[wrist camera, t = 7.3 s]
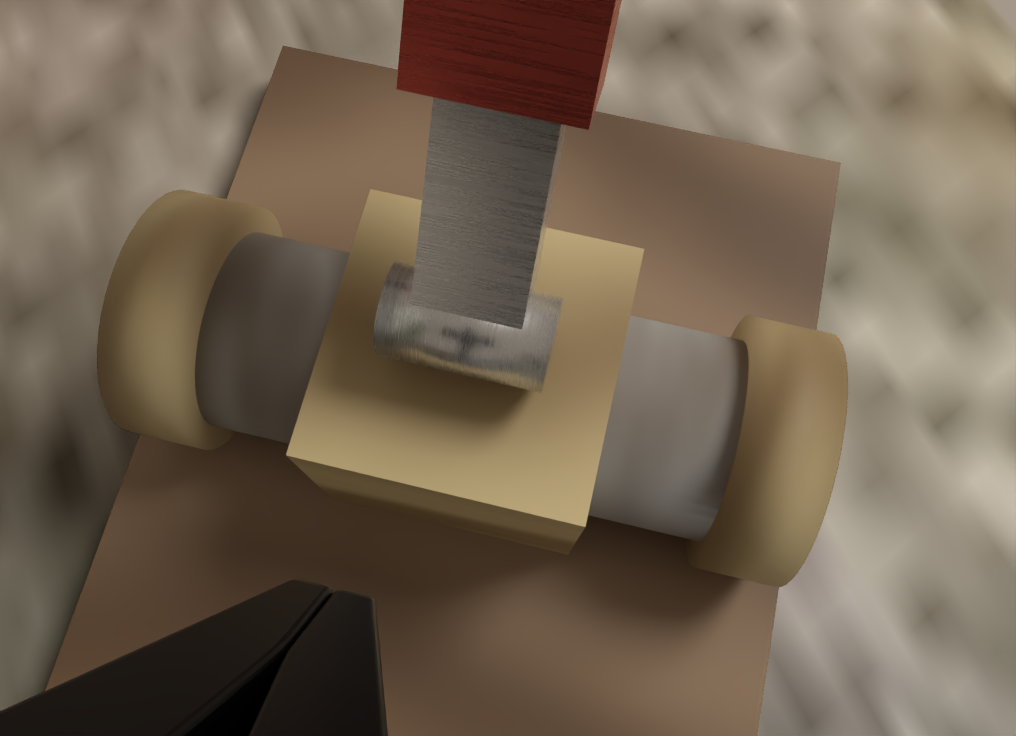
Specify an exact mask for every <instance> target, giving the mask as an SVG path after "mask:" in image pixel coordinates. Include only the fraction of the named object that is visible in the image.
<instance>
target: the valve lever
mask: <svg viewBox="0 0 1016 736" xmlns="http://www.w3.org/2000/svg"><path fill="white" fill-rule="evenodd" d="M620 5H621V0H404V8H403V19H402V31H401V42H400V54H399V65H398V76H397V88H396V89H397V90H402V91H406V92H411V93H416V94H420V95H425V96H430V97H433V106H432V115H431V124H430V133H429V142H428V151H427V160H426V169H425V178H424V187H423V196H422V205H421V214H420V223H419V232H418V241H417V250H416V259H415V265H414V264H410V263H405V262H401V261H396V262H394V263H393V265H392V266H391V268H390V270H389V272H388V274H387V277H386V279H385V282H384V285H383V288H382V291H381V295H380V299H379V303H378V307H377V312H376V318H375V324H374V334H373V347H374V352H375V354H376V355H379V356H383V357H388V358H392V359H396V360H401V361H405V362H409V363H414V364H418V365H422V366H427V367H431V368H435V369H440V370H444V371H448V372H453V373H457V374H461V375H466V376H470V377H474V378H479V379H483V380H487V381H492V382H496V383H500V384H505V385H509V386H513V387H518V388H522V389H526V390H531V391H535V392H539V393H542V391H543V387H544V384H545V380H546V376H547V372H548V367H549V363H550V359H551V355H552V350H553V346H554V342H555V337H556V333H557V328H558V324H559V319H560V314H561V309H562V304H563V298H562V297H557V296H553V295H549V294H544V293H540V292H535V286H536V280H537V275H538V270H539V265H540V260H541V255H542V250H543V244H544V239H545V234H546V229H547V224H548V219H549V214H550V208H551V203H552V198H553V193H554V188H555V183H556V177H557V172H558V167H559V162H560V157H561V152H562V147H563V141H564V136H565V131H566V126H572V127H576V128H581V129H586V130H589V128H590V125H591V122H592V119H593V116H594V113H595V110H596V107H597V103H598V100H599V97H600V94H601V91H602V88H603V85H604V81H605V76H606V71H607V67H608V62H609V57H610V52H611V48H612V43H613V38H614V34H615V29H616V24H617V19H618V15H619V10H620Z"/></svg>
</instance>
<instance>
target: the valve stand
mask: <svg viewBox="0 0 1016 736" xmlns="http://www.w3.org/2000/svg"><path fill="white" fill-rule="evenodd" d="M397 76H398V70H396V69H391V68H387V67H382V66H377V65H372V64H367V63H363V62H358V61H353V60H348V59H344V58H339V57H334V56H329V55H325V54H320V53H315V52H310V51H306V50H301V49H296V48H291V47H287V46H283V47H282V50H281V53H280V55H279V58H278V61H277V63H276V66H275V69H274V72H273V74H272V77H271V80H270V82H269V85H268V88H267V91H266V93H265V96H264V99H263V101H262V104H261V107H260V110H259V112H258V115H257V118H256V120H255V123H254V126H253V129H252V131H251V134H250V137H249V139H248V142H247V145H246V147H245V150H244V153H243V156H242V158H241V161H240V164H239V166H238V169H237V172H236V175H235V177H234V180H233V183H232V185H231V188H230V191H229V194H228V196H227V199H223V198H218V197H214V196H209V195H205V194H200V193H196V192H191V191H186V190H177V191H172V192H170V193H167V194H165V195H163V196H162V197H161V198H159V199H158V200H156V201H155V202H154V203H153V204H152V205H151V206H150V207H149V208H148V209H147V210H146V211H145V213H144V214H143V215H142V216H141V217H140V219H139V220H138V222H137V223H136V225H135V226H134V228H133V229H132V231H131V232H130V234H129V236H128V238H127V240H126V242H125V244H124V245H123V248H122V250H121V252H120V254H119V257H118V259H117V261H116V264H115V266H114V269H113V272H112V275H111V278H110V281H109V284H108V288H107V291H106V295H105V299H104V304H103V308H102V313H101V319H100V326H99V333H98V346H97V369H98V381H99V386H100V392H101V396H102V399H103V402H104V406H105V408H106V410H107V412H108V414H109V416H110V417H111V419H112V420H113V421H114V423H115V424H116V425H118V426H119V427H120V428H121V429H123V430H126V431H128V432H132V433H136V434H140V435H139V438H138V440H137V443H136V446H135V448H134V451H133V454H132V457H131V459H130V462H129V465H128V467H127V470H126V473H125V476H124V478H123V481H122V484H121V486H120V489H119V492H118V495H117V497H116V500H115V503H114V505H113V508H112V511H111V514H110V516H109V519H108V522H107V524H106V527H105V530H104V532H103V535H102V538H101V541H100V543H99V546H98V549H97V551H96V554H95V557H94V560H93V562H92V565H91V568H90V570H89V573H88V576H87V579H86V581H85V584H84V587H83V589H82V592H81V595H80V598H79V600H78V603H77V606H76V608H75V611H74V614H73V617H72V619H71V622H70V625H69V627H68V630H67V633H66V636H65V638H64V641H63V644H62V646H61V649H60V652H59V654H58V657H57V660H56V663H55V665H54V668H53V671H52V673H51V676H50V679H49V682H48V684H47V687H46V690H48V689H51V688H53V687H55V686H57V685H60V684H62V683H64V682H66V681H68V680H71V679H73V678H75V677H77V676H79V675H82V674H84V673H86V672H88V671H91V670H93V669H95V668H97V667H99V666H102V665H104V664H106V663H108V662H110V661H113V660H115V659H117V658H119V657H122V656H124V655H126V654H128V653H130V652H133V651H135V650H137V649H139V648H141V647H144V646H146V645H148V644H150V643H153V642H155V641H157V640H159V639H161V638H164V637H166V636H168V635H170V634H172V633H175V632H177V631H179V630H181V629H183V628H186V627H188V626H190V625H192V624H195V623H197V622H199V621H201V620H203V619H206V618H208V617H210V616H212V615H214V614H217V613H219V612H221V611H223V610H226V609H228V608H230V607H232V606H234V605H237V604H239V603H241V602H243V601H245V600H248V599H250V598H252V597H254V596H257V595H259V594H261V593H263V592H265V591H268V590H270V589H272V588H274V587H276V586H279V585H281V584H283V583H285V582H288V581H290V580H293V579H303V580H308V581H312V582H316V583H320V584H324V585H328V586H330V587H331V588H332V589H333V592H335V591H336V590H339V589H344V590H348V591H352V592H356V593H360V594H364V595H368V596H371V597H373V598H374V599H375V602H376V610H377V621H378V632H379V642H380V653H381V664H382V675H383V686H384V697H385V707H386V718H387V729H388V736H757V733H758V726H759V720H760V713H761V706H762V699H763V692H764V685H765V678H766V671H767V665H768V658H769V651H770V644H771V637H772V630H773V623H774V617H775V610H776V603H777V596H778V589H779V587H782V586H784V585H786V584H787V583H788V582H790V581H791V580H792V579H793V578H794V576H795V575H796V574H797V573H798V571H799V570H800V568H801V567H802V565H803V564H804V562H805V560H806V558H807V556H808V554H809V552H810V551H811V548H812V546H813V544H814V542H815V539H816V537H817V535H818V532H819V530H820V527H821V524H822V522H823V519H824V516H825V513H826V510H827V507H828V504H829V500H830V497H831V493H832V490H833V486H834V482H835V478H836V474H837V469H838V465H839V460H840V455H841V450H842V444H843V438H844V431H845V423H846V414H847V400H848V372H847V362H846V356H845V352H844V348H843V345H842V343H841V341H840V339H839V338H838V337H837V336H836V335H834V334H831V333H827V332H822V331H818V330H816V329H817V322H818V315H819V308H820V301H821V294H822V287H823V281H824V274H825V267H826V260H827V253H828V246H829V239H830V232H831V226H832V219H833V212H834V205H835V198H836V191H837V184H838V178H839V171H840V164H841V163H839V162H834V161H829V160H825V159H820V158H815V157H810V156H805V155H801V154H796V153H791V152H786V151H782V150H777V149H772V148H767V147H763V146H758V145H753V144H748V143H744V142H739V141H734V140H729V139H725V138H720V137H715V136H710V135H706V134H701V133H696V132H691V131H686V130H682V129H677V128H672V127H667V126H663V125H658V124H653V123H648V122H644V121H639V120H634V119H629V118H625V117H620V116H615V115H610V114H606V113H601V112H596V111H595V113H594V116H593V119H592V122H591V125H590V128H589V130H586V129H581V128H576V127H572V126H566V131H565V136H564V141H563V147H562V152H561V157H560V162H559V167H558V172H557V177H556V183H555V188H554V193H553V198H552V203H551V208H550V214H549V219H548V224H547V229H546V234H545V239H544V244H543V250H542V255H541V260H540V265H539V270H538V275H537V280H536V286H535V292H540V293H544V294H549V295H553V296H557V297H562V298H563V304H562V309H561V314H560V319H559V324H558V328H557V333H556V337H555V342H554V346H553V350H552V355H551V359H550V363H549V367H548V372H547V376H546V380H545V384H544V387H543V391H542V393H539V392H535V391H531V390H526V389H522V388H518V387H513V386H509V385H505V384H500V383H496V382H492V381H487V380H483V379H479V378H474V377H470V376H466V375H461V374H457V373H453V372H448V371H444V370H440V369H435V368H431V367H427V366H422V365H418V364H414V363H409V362H405V361H401V360H396V359H392V358H388V357H383V356H379V355H376V354H375V352H374V347H373V334H374V324H375V318H376V312H377V307H378V303H379V299H380V295H381V291H382V288H383V285H384V282H385V279H386V277H387V274H388V272H389V270H390V268H391V266H392V265H393V263H394V262H396V261H401V262H405V263H410V264H414V265H415V259H416V250H417V241H418V232H419V223H420V214H421V205H422V196H423V187H424V178H425V169H426V160H427V151H428V142H429V133H430V124H431V115H432V106H433V97H430V96H425V95H420V94H416V93H411V92H406V91H402V90H397V89H396V88H397ZM46 690H45V691H46Z"/></svg>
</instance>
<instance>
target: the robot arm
mask: <svg viewBox="0 0 1016 736" xmlns="http://www.w3.org/2000/svg"><path fill="white" fill-rule="evenodd" d="M0 736H388V729H387V718H386V707H385V697H384V686H383V675H382V664H381V653H380V642H379V632H378V621H377V610H376V602H375V599H374V598H373V597H371V596H368V595H364V594H360V593H356V592H352V591H348V590H344V589H339V590H336V591H335V592H333V589H332V588H331V587H330V586H328V585H324V584H320V583H316V582H312V581H308V580H303V579H293V580H290V581H288V582H285V583H283V584H281V585H279V586H276V587H274V588H272V589H270V590H268V591H265V592H263V593H261V594H259V595H257V596H254V597H252V598H250V599H248V600H245V601H243V602H241V603H239V604H237V605H234V606H232V607H230V608H228V609H226V610H223V611H221V612H219V613H217V614H214V615H212V616H210V617H208V618H206V619H203V620H201V621H199V622H197V623H195V624H192V625H190V626H188V627H186V628H183V629H181V630H179V631H177V632H175V633H172V634H170V635H168V636H166V637H164V638H161V639H159V640H157V641H155V642H153V643H150V644H148V645H146V646H144V647H141V648H139V649H137V650H135V651H133V652H130V653H128V654H126V655H124V656H122V657H119V658H117V659H115V660H113V661H110V662H108V663H106V664H104V665H102V666H99V667H97V668H95V669H93V670H91V671H88V672H86V673H84V674H82V675H79V676H77V677H75V678H73V679H71V680H68V681H66V682H64V683H62V684H60V685H57V686H55V687H53V688H51V689H48V690H46V691H44V692H42V693H40V694H37V695H35V696H33V697H31V698H29V699H26V700H24V701H22V702H20V703H17V704H15V705H13V706H11V707H9V708H6V709H4V710H2V711H0Z"/></svg>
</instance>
